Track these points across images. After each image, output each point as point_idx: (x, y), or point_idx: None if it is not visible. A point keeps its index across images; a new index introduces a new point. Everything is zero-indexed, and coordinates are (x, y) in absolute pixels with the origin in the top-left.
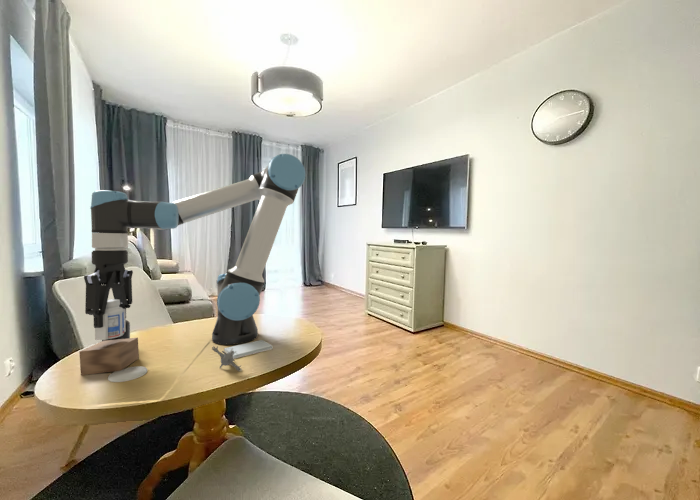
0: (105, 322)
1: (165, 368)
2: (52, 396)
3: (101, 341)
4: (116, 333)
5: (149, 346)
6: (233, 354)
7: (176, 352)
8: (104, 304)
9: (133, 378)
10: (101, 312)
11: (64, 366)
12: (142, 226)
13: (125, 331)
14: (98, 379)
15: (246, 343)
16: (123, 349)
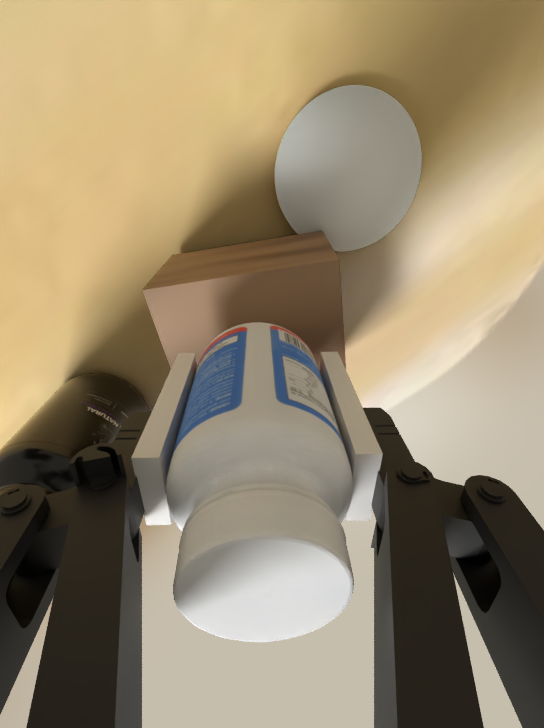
0: (363, 412)
1: (262, 19)
2: (469, 329)
3: None
4: (289, 338)
5: (12, 319)
6: None
7: (39, 106)
8: (421, 545)
9: (402, 108)
10: (429, 480)
11: None
12: None
13: (178, 353)
14: (362, 281)
15: None
16: (298, 258)
